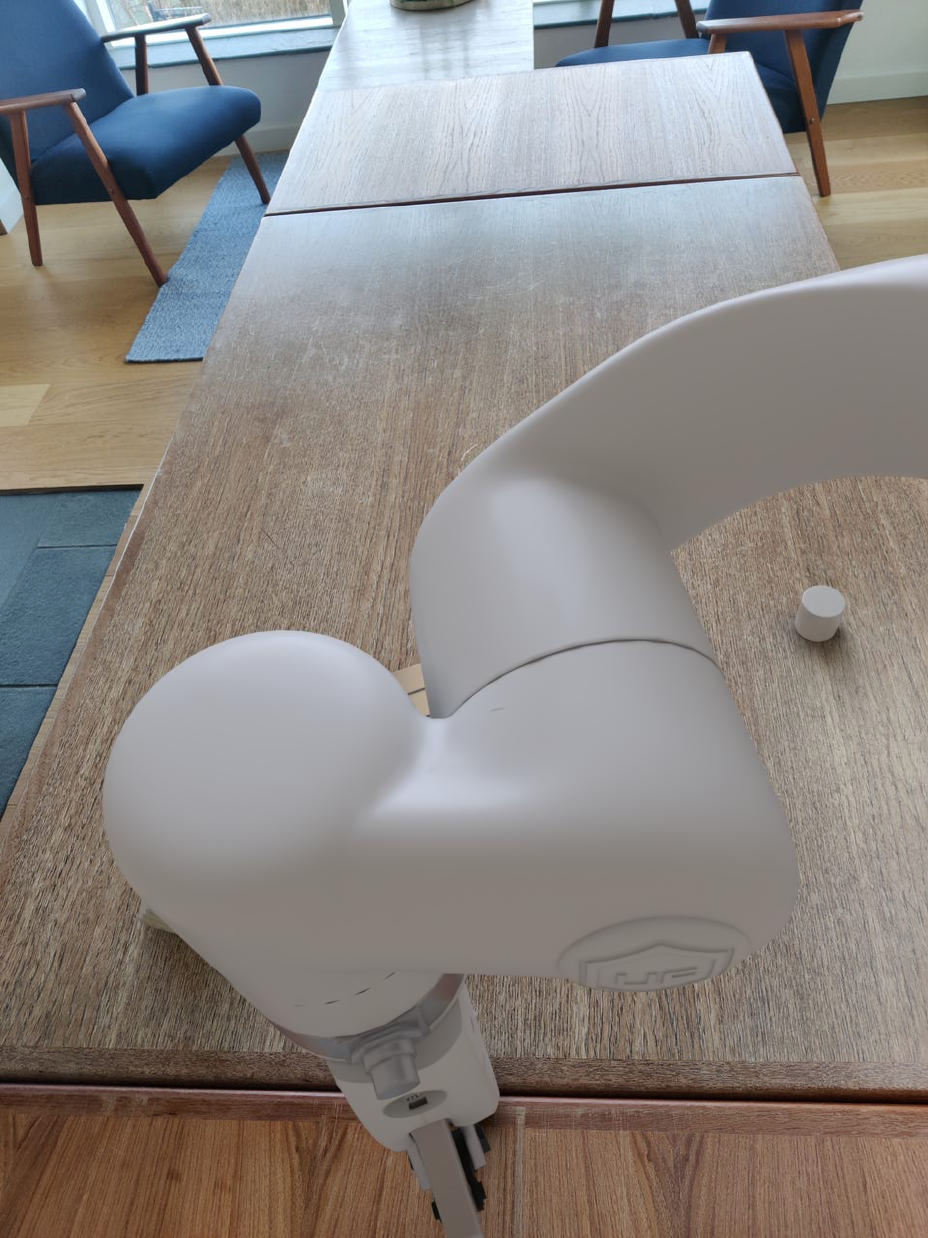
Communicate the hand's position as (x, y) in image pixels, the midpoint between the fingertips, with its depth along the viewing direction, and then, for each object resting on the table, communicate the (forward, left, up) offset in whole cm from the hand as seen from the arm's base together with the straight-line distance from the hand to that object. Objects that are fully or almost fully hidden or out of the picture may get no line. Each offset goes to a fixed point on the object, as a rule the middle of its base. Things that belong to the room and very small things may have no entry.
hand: (422, 1047), depth 42 cm
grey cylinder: (-38, -21, -13) cm, 46 cm away
